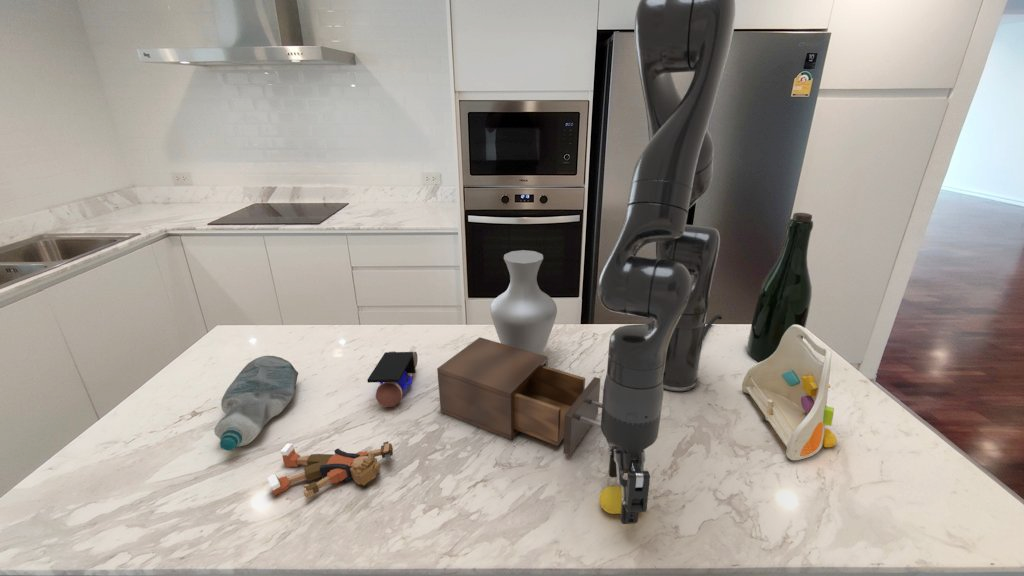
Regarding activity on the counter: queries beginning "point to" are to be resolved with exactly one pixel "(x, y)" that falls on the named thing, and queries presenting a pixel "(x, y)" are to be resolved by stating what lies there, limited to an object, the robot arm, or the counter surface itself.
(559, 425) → the drawer
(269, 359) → the plastic water bottle
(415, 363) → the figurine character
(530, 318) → the vase
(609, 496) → the yellow capsule
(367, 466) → the character figurine
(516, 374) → the cabinet
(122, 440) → the counter surface
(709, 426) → the counter surface
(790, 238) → the green wine bottle
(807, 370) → the shape sorter
